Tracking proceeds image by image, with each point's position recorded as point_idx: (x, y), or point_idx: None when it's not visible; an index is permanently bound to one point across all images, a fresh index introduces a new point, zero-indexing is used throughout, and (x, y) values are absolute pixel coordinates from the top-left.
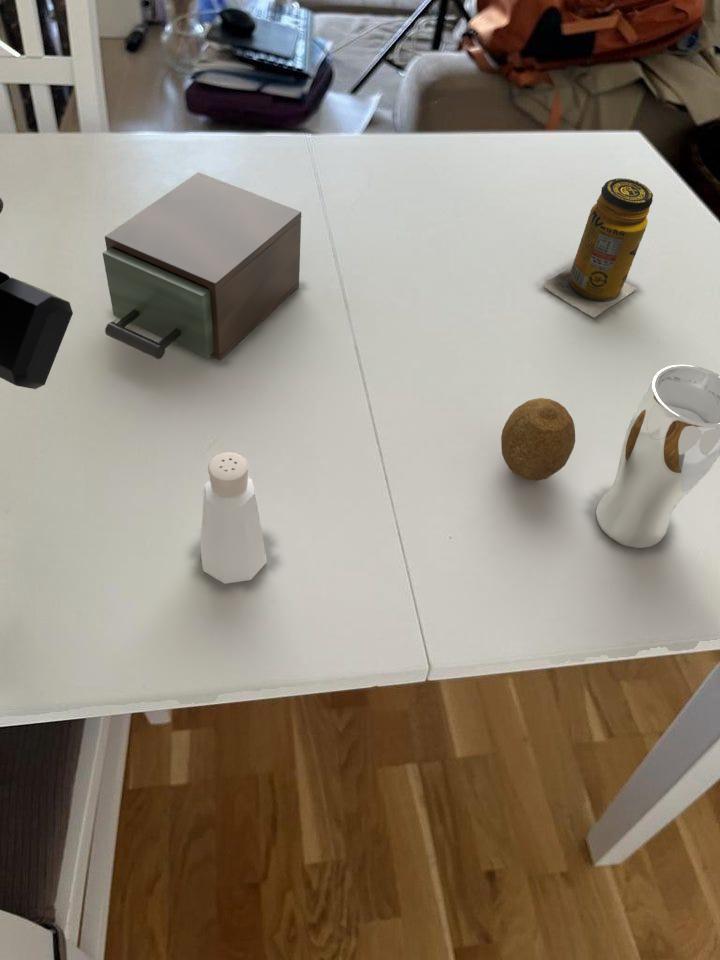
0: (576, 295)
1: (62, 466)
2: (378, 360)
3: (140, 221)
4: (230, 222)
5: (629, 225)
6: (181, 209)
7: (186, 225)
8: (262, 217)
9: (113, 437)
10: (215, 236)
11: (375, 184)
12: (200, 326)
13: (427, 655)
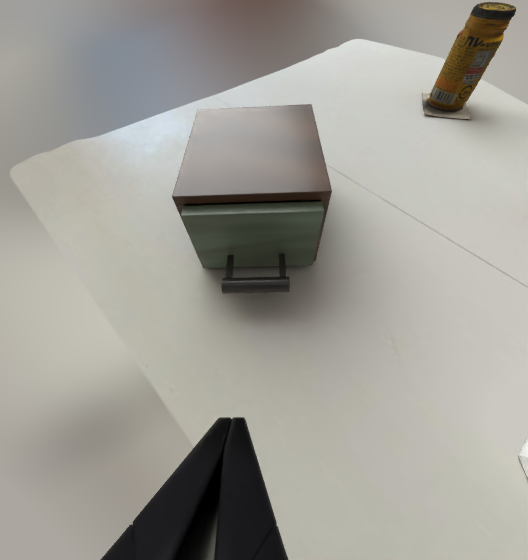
0: (446, 112)
1: (300, 476)
2: (408, 201)
3: (192, 166)
4: (271, 133)
5: (501, 34)
6: (217, 140)
7: (238, 151)
8: (289, 119)
9: (312, 397)
10: (274, 149)
11: (274, 101)
12: (312, 242)
13: None
